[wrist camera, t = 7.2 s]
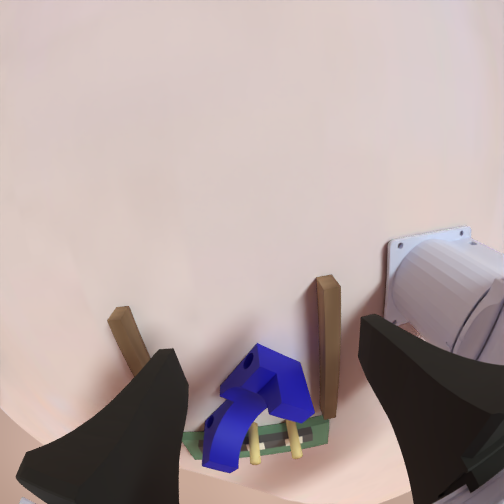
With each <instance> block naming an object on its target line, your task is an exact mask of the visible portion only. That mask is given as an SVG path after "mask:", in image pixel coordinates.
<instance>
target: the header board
mask: <svg viewBox="0 0 504 504" xmlns="http://www.w3.org/2000/svg"><path fill="white" fill-rule="evenodd" d="M328 433H329V420H328V419H327V420H324V418H323V415H321V416H317V417H312V418H308V419H307V420H306V421H304V422H303V423H302V424H301V423H298V422H294V421H290V420H287V419H286V423H281V424H275V425H268V426H261V427H258V425H257V423H252V424H251V426H250V428H249V429H248V431H247V433H246V435H245V438H244V440H243V443H242V446H241V450H240V454H239V458H243V457H250V464H252V465H258V464H260V463H261V459H260V456H262V455H269V454H276V453H283V452H289V451H291V453H292V458H293V459H299V458H301V457H302V456H303V455H302V450H301V449H305V448H310V447H315V446H319V445H323V444H328ZM182 442H183V443H184V445H185V446H186V448H187V449H188V451H189V452H190V453H191V455H192V456H193V458H194V459H195V460H202V457H203V442H204V432H183V437H182Z"/></svg>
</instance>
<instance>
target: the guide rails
mask: <svg viewBox="0 0 504 504" xmlns="http://www.w3.org/2000/svg"><path fill="white" fill-rule="evenodd" d="M316 282H317V299H318V319H319V350H320V408H321V411H322V415H323V418H324V420H327V419H331V418H335V417H336V410H337V398H338V384H339V367H340V340H341V286H340V285H339V284H338V282H337V281H336V280H335V278H334V277H333V276H332V275H327V276H322V277H316ZM107 321H108V324H109V326H110V328H111V331H112V333H113V335H114V337H115V339H116V341H117V344H118V346H119V348H120V350H121V352H122V354H123V356H124V358H125V360H126V362H127V364H128V366H129V368H130V370H131V372H132V373H133V375H134V377H135V376H136V375H137V374H138V373H139V372H140V370H141V369H142V368H143V367H144V366H145V365H146V364H147V362H148V361H149V360H150V359H151V358H150V356H149V353H148V351H147V349H146V347H145V344H144V342H143V340H142V337H141V335H140V333H139V330H138V328H137V325H136V323H135V320H134V318H133V315H132V313H131V310H130V307H129V306H125V307H116V309H115V310H114V312H113V313H112V314H111V316H110V317H109V319H108V320H107Z"/></svg>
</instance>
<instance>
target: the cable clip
mask: <svg viewBox="0 0 504 504" xmlns="http://www.w3.org/2000/svg"><path fill="white" fill-rule="evenodd" d="M220 397H223V398H226V399H227V400H226V401H225V402H224V403H223V404H222V405H221V406H220V407H219V408H218V409H217V410H216V411H215V412H214V413H213V414H212V415H211V416H210V417H209V418H208V419H207V420H206V421H205V428H204V442H203V457H202V466H203V467H207V468H211V469H215V470H219V471H223V472H227V473H231V472H233V471H235V470H236V469H238V463H239V454H240V450H241V446H242V443H243V440H244V438H245V435H246V433H247V431H248V429H249V428H250V426H251V424H252V423H253V421H254V420H255V419H256V418H257V416H258V415H259V414H260V413H261V412H262V411H263V410H265V409H266V408H268V412H269V414H270V415H273V416H276V417H280V418H283V419H287V420H290V421H294V422H298V423H301V424H302V423H303V422H304V421H306V420H307V419H308V418H309V417H310V416H312V415H313V414H314V413H315V411H314V408H313V404H312V401H311V397H310V394H309V390H308V387H307V384H306V380H305V377H304V373H303V370H302V367H301V363H300V362H298V361H296V360H293V359H291V358H289V357H286V356H284V355H282V354H280V353H278V352H275V351H273V350H271V349H269V348H267V347H264V346H262V345H260V344H258V343H257V344H256V345H255V346H254V347H253V349H252V350H251V351H250V352H249V353H248V354H247V356H246V357H245V358H244V359H243V360H242V361H241V363H240V364H239V365H238V366H237V367H236V368H235V370H234V371H233V372H232V373H231V374H230V375H229V376H228V378H227V379H226V380H225V381H224V382H223V383H222V384H221V385H220Z"/></svg>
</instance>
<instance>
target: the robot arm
mask: <svg viewBox="0 0 504 504" xmlns="http://www.w3.org/2000/svg"><path fill="white" fill-rule="evenodd" d="M460 232H461V233H460ZM399 243H401V245H400V247H398V244H399ZM394 320H395V321H394ZM393 321H394V322H393ZM392 322H393V323H392ZM408 322H410V324H411V325H412V326H413V327H414V328H415V329H416V330H417V331H418V332H419V334H420V335H421V336H422V337H423V338H424V339H425V340H426V341H424V340H422V339H420V338H418V337H416V336H414V335H412V334H411V333H409V332H407V331H405V330H403V329H402V328H400V327H398V325H401V324H405V323H408ZM358 358H359V360H360V363H361V366H362V368H363V371H364V373H365V376H366V378H367V380H368V382H369V383H370V385H371V387H372V389H373V391H374V393H375V394H376V396H377V398H378V400H379V402H380V403H381V405H382V407H383V409H384V411H385V412H386V414H387V416H388V418H389V420H390V422H391V424H392V427H393V429H394V432H395V435H396V437H397V440H398V443H399V446H400V449H401V452H402V455H403V458H404V462H405V465H406V469H407V473H408V477H409V481H410V486H411V491H412V496H413V502H414V504H504V254H503V253H501V252H499V251H497V250H495V249H493V248H491V247H489V246H487V245H485V244H483V243H481V242H479V241H477V240H475V239H473V238H471V227H470V226H461V227H456V228H451V229H446V230H440V231H435V232H430V233H424V234H419V235H413V236H408V237H403V238H397V239H392V240H391V241H390V242H389V243H388V255H387V281H386V297H385V309H384V318H382V317H381V316H379V315H377V314H372V315H368V316H364V317H361V325H360V340H359V352H358ZM188 389H189V385H188V382H187V380H186V378H185V375H184V373H183V371H182V368H181V366H180V363H179V361H178V358H177V356H176V353H175V351H174V348H172V349H159V350H158V351H157V352H156V353H155V354H154V356H153V357H152V358H151V359H150V360H149V361H148V362H147V364H146V365H145V366H144V367H143V368H142V369H141V370H140V372H139V373H138V374H137V375H136V376H135V377H134V378H133V379H132V381H131V382H130V383H129V384H128V385H127V386H126V387H125V388H124V389H123V390H122V391H121V392H120V393H119V394H118V395H117V396H116V397H115V398H114V399H113V400H112V401H111V402H110V403H109V404H108V405H107V406H106V407H104V408H103V409H102V410H101V411H100V412H98V413H97V414H96V415H95V416H94V417H92V418H91V419H89V420H88V421H87V422H85V423H84V424H82V425H81V426H79V427H78V428H76V429H75V430H73V431H72V432H70V433H68V434H66V435H65V436H63V437H61V438H59V439H57V440H55V441H53V442H51V443H49V444H47V445H44V446H42V447H39V448H36V449H34V450H31V451H28V452H26V454H25V456H24V458H23V461H22V463H21V465H20V467H19V470H18V472H17V475H16V479H17V480H18V481H19V483H20V484H21V485H23V486H24V487H25V488H26V489H27V490H29V491H30V492H32V493H33V494H34V495H36V496H37V497H38V498H40V499H41V500H43V501H44V502H46V503H47V504H179V480H178V479H179V477H178V476H179V457H180V449H181V443H182V437H183V432H184V426H185V420H186V415H187V409H188ZM19 504H36V503H33V502H32V501H30V500H28V499H26V498H24V497H22V498H21V501H20V503H19Z"/></svg>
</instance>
